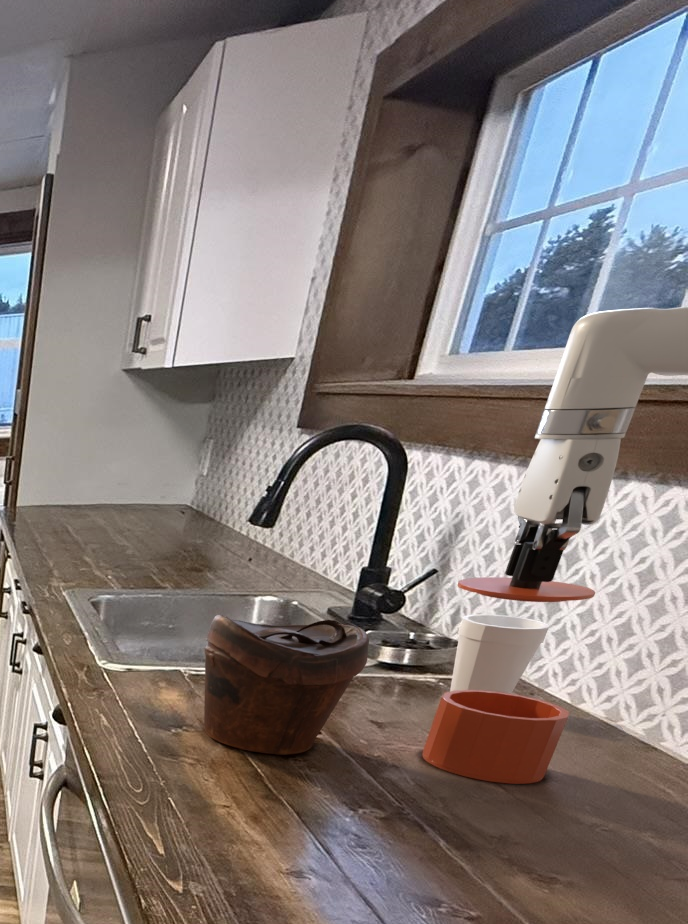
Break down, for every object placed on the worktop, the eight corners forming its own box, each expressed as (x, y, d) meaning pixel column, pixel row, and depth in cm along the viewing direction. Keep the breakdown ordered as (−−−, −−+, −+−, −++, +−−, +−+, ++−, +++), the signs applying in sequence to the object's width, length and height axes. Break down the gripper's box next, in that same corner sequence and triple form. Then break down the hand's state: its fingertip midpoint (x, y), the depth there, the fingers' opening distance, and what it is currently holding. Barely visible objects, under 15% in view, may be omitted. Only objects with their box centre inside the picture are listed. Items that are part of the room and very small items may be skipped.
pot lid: (562, 587, 109) (581, 536, 107) (614, 608, 99) (637, 552, 96) (440, 583, 114) (456, 535, 112) (478, 602, 104) (496, 549, 101)
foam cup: (525, 704, 127) (557, 621, 122) (507, 717, 122) (539, 632, 117) (446, 689, 134) (473, 611, 129) (426, 701, 130) (453, 620, 125)
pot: (520, 755, 110) (544, 695, 107) (561, 789, 100) (588, 724, 97) (410, 744, 115) (429, 686, 112) (439, 775, 105) (461, 713, 102)
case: (370, 745, 115) (410, 619, 108) (285, 775, 107) (322, 642, 100) (239, 709, 130) (267, 596, 123) (156, 733, 122) (181, 614, 115)
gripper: (666, 426, 90) (600, 592, 97) (589, 422, 104) (536, 568, 111) (574, 428, 93) (517, 589, 100) (511, 424, 107) (464, 566, 114)
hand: (527, 577), depth 106 cm, fingers closed on pot lid, 2 cm apart
